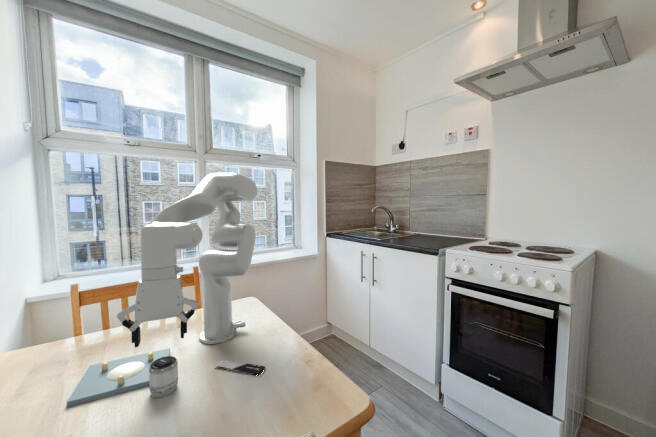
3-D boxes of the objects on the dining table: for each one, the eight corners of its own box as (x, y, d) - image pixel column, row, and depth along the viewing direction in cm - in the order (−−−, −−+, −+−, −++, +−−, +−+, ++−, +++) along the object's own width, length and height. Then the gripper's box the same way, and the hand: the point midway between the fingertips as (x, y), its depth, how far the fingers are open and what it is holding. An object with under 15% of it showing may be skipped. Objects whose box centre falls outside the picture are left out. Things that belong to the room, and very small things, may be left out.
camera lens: (162, 401, 64) (161, 370, 64) (143, 395, 66) (142, 365, 66) (184, 384, 70) (183, 356, 70) (166, 379, 72) (165, 352, 71)
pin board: (170, 351, 86) (169, 342, 85) (165, 380, 71) (165, 369, 71) (90, 369, 76) (89, 358, 76) (66, 406, 62) (66, 393, 62)
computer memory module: (214, 367, 77) (223, 359, 80) (214, 370, 77) (223, 362, 81) (260, 375, 73) (267, 366, 77) (260, 378, 73) (267, 370, 77)
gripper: (197, 267, 73) (198, 327, 74) (120, 273, 65) (121, 341, 66) (198, 272, 67) (199, 339, 67) (112, 280, 59) (113, 356, 59)
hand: (160, 340), depth 67 cm, fingers open, 9 cm apart
